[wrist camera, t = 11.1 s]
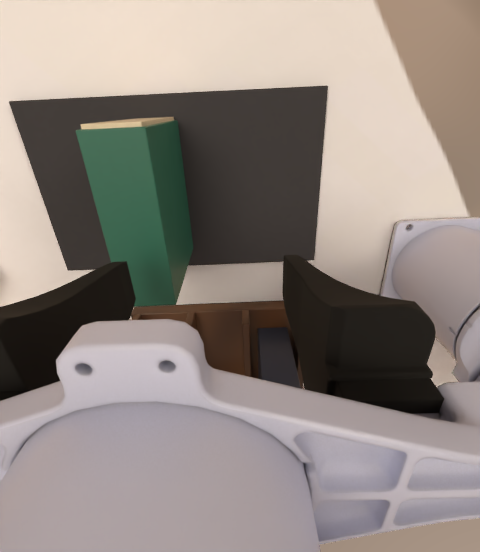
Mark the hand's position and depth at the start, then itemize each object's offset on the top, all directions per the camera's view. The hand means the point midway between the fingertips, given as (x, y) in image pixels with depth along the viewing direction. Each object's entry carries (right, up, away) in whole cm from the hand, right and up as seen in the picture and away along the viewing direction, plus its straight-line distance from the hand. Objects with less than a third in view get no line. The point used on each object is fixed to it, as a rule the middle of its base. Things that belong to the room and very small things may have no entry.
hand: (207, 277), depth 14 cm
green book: (-4, +6, +8) cm, 11 cm away
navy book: (+5, -8, +15) cm, 17 cm away
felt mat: (-3, +6, +8) cm, 11 cm away
